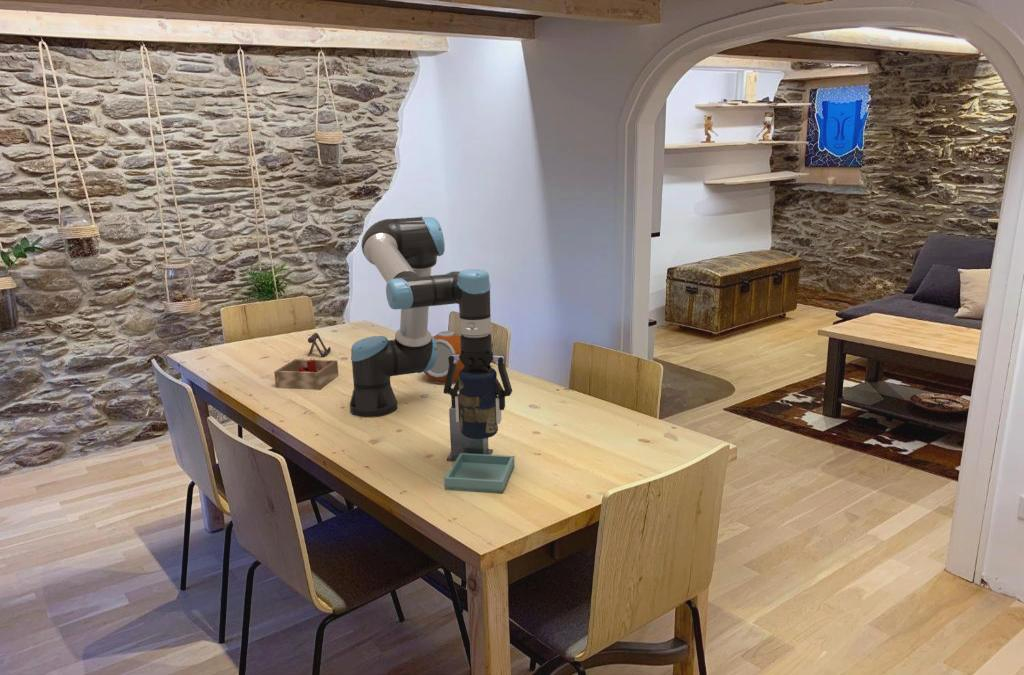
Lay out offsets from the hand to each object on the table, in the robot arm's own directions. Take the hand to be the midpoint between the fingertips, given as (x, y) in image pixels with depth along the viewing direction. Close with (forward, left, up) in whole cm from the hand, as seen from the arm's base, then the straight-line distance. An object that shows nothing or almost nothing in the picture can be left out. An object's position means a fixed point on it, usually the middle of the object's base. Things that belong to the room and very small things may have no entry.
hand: (478, 420), depth 186 cm
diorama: (-79, +72, -16) cm, 108 cm away
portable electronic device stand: (-93, +105, -16) cm, 141 cm away
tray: (0, 0, -15) cm, 15 cm away
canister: (0, 0, -4) cm, 4 cm away
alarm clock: (-31, +80, -16) cm, 87 cm away
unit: (-6, +13, -15) cm, 21 cm away
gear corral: (-81, +70, -15) cm, 108 cm away
